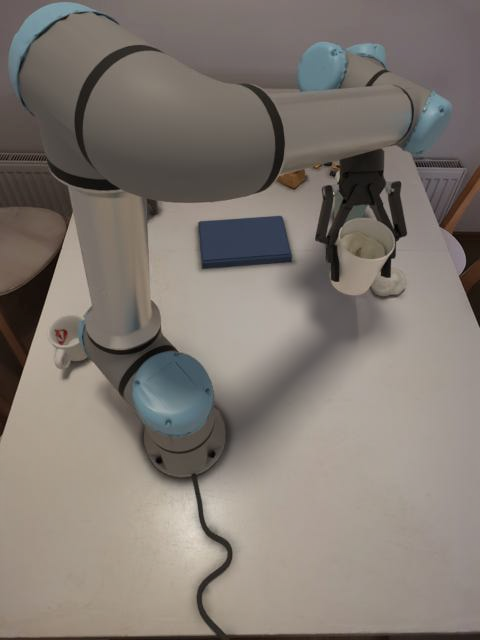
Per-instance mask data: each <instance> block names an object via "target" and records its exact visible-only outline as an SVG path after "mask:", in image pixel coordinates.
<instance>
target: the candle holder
mask: <svg viewBox="0 0 480 640" xmlns="http://www.w3.org/2000/svg"><path fill="white" fill-rule="evenodd" d="M335 245H337V252H338V258H339V282H334V281H332V280H331V269H330V270H329V280H330V283H331V285H332V286H333V287H334V289H335V290H336V291H338V292H339V293H341V294H343V295H347V296H360V295H362V294H365V293H366V292H367V291H369V289H370V288H371V285H372V283H373V282H374V280H375V279H376V277H377V275H378V274H379V272H380V270H381V269H382V267H383V266H384V264H385V262H386V261H387V259H388V257H389V256H390V254H391V253H392V252H393V250H394V247H395V238H394V235H393V233H392V232H391V230H390V229H389V228H388V227H387V226H386V225H384V224H383V223H381V222H379V221H377V219H374V218H369V217H362V218H354V219H351V220H349V221H347V222H346V223H344V225H343V227H341V228H340V231H339V234H338V238H337V240H336V243H335Z"/></svg>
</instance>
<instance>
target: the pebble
mask: <svg viewBox="0 0 480 640" xmlns="http://www.w3.org/2000/svg"><path fill="white" fill-rule="evenodd" d="M407 285H408V283H407V279H406V273H405V272H404V271H403V270H402V269H400V268H397V267H391V278H385V277H382V276H381V270H380V272H379V274H378V275H377V277H376V279H375V280H374V282H373V283H372V285H371V286H370V288H371V290H372V291H373V292H374V294H375V295H377V296H379V297H387V296H391V295H392V296H394V295H396V296H397V295H399V294H401V293H402V291H404V290H405V289H406V288H407Z"/></svg>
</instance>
